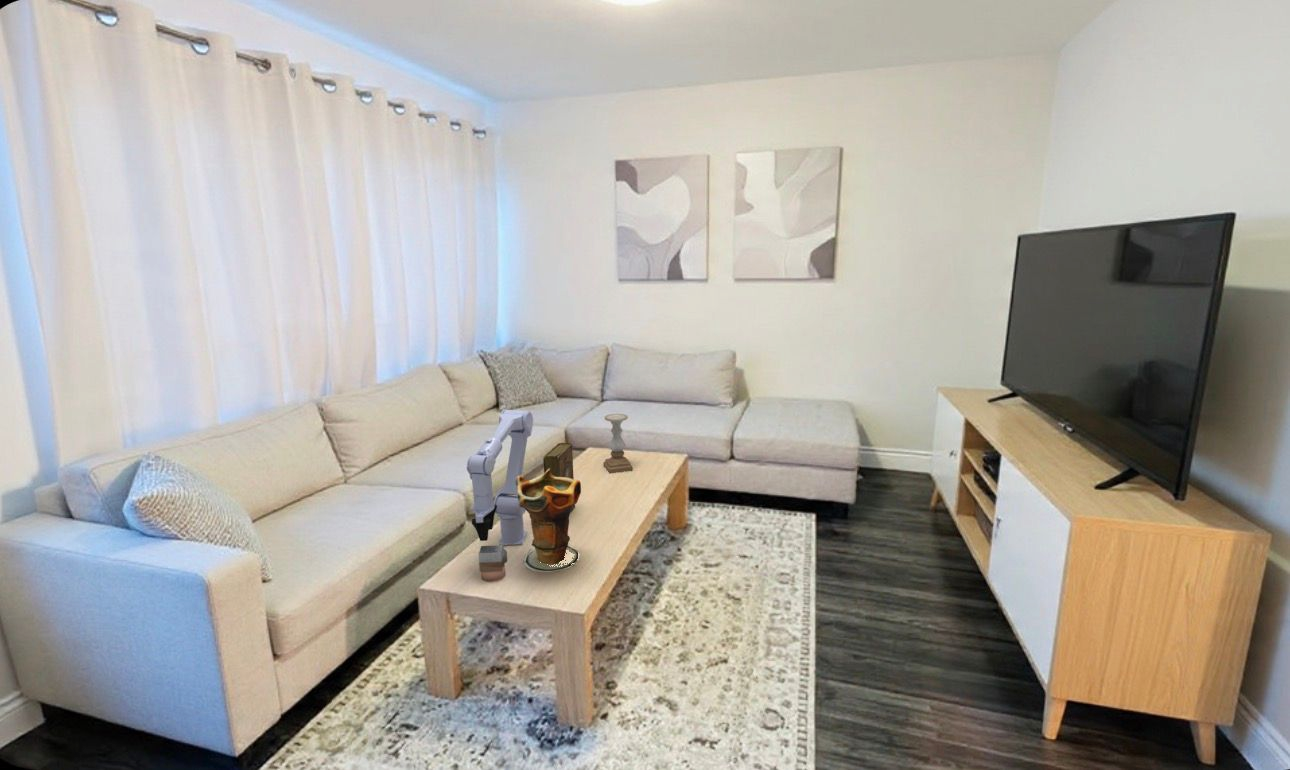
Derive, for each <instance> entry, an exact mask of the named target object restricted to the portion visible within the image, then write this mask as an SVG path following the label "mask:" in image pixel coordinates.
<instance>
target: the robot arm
mask: <svg viewBox="0 0 1290 770" xmlns="http://www.w3.org/2000/svg"><path fill="white" fill-rule="evenodd" d="M533 426H534V417H533V414H532V412H531V411H530V410H522V409H521V410H514V409H506V408H504V409H502V410H501V412H500V413H499V416H498V424H497V427H496V429H495V431H494V433H493V435H492V437H488V438H486V439H485V440H484V442H483V444H482V445H481V446H480V448H479V449H478V451H477V452H476V454H473V455H471V456H470V457H469V458H468V460H467V464H466V471H467V473H468V474H469V479H470V480H471V483H472V484H471V485H472V493H473V494H472V495H473V505H472V506H470V511H471V512H472V511H474V514H475V518H472V519H471V525H472V526H473V527H474V530H475V531H476V533H477V536H478V538H479V541H480V542H485V541H488V539H489V531H490V530H493V528H494V519H495V514H497V517H498V518H499V523H500V535H501V536H500V540H499V542H498V545H503V546H515V545H517V546H518V545H523V544H524V542H525V539H526V536H527V530H524V528H525V527H524V518H523V517H524V516H523V515H524V514H525V513H526V512H527V511H526V510H525V508H523V507H520V506H519V502H518V494H517V487H516V483H515V481H516V478H517V476H523V470H524V462H525V458H526V457H525V455H526V449H527V442H528V438H529V437H531V436H532V431H533ZM508 436H510V438H511V443H510V444H511V445H510V449H509V450H510V451H509V455H508V456H509V457H508V463H507V467H506V468H507V469H506V474H505V480H504V485H503V486H501V488H499V489H498V490H496V494H495V498H494V494H493V481H492V480H493V479H492V473H493V471H494V469H495V464H496V461H497V458H498V456H499V455H500V454H501V452H502V450H503V444H502V443H503V442H504V441H505V440H506V438H507V437H508Z"/></svg>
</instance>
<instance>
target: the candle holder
mask: <svg viewBox="0 0 1290 770" xmlns="http://www.w3.org/2000/svg"><path fill="white" fill-rule="evenodd" d="M627 419H628V415H627V414H624V413H611V414H607V415H604V420H605V421H607V422H610V424H611V426H612V428H611V429H610V432H611V434H612V439H611V440H610V441H609V443H608V449H609V450H611V451H610V456H611V457H610V458H606V459H605V461H603V468H604V467H605V468H606V469H605V468H604V469H605V470H606V472H607V471H608V472H609V473H608V472H607V473H608V474H616V472H617V473H623V472H624V471H625V472H630V471H631V472H632V471H633V465H632V464H631V461H629V460H628V458H627V457H626V456H624V455H625V451H624V450H625V448H626V443H625V441H624V440H623V438H622V436H621V435H622V433H623V429H622V427H621V424H622V423H623V422H624V421H626V420H627Z"/></svg>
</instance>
